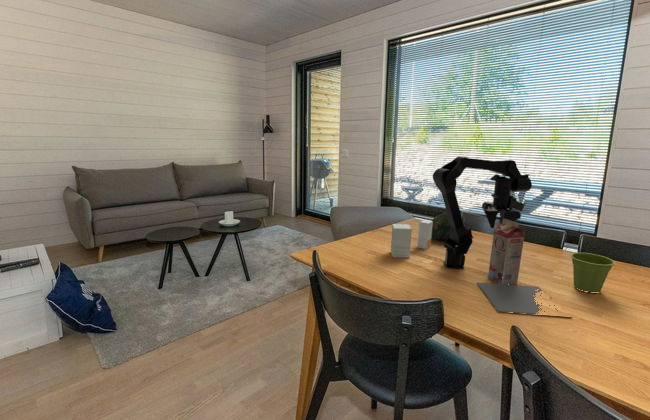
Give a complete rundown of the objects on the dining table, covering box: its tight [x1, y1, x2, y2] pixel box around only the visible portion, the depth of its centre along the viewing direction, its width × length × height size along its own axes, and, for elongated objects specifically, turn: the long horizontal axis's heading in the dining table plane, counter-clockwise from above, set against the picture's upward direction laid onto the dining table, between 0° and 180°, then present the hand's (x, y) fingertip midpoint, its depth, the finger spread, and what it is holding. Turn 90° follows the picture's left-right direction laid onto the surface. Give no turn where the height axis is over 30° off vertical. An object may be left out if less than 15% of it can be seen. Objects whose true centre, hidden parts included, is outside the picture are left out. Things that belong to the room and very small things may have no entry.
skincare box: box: [416, 219, 433, 250], centre depth 157 cm, size 6×4×12 cm
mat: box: [476, 282, 558, 314], centre depth 109 cm, size 20×20×1 cm
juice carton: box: [487, 218, 526, 285], centre depth 121 cm, size 7×7×22 cm
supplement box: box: [390, 223, 413, 259], centre depth 146 cm, size 7×7×13 cm
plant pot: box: [570, 252, 616, 293], centre depth 116 cm, size 12×12×11 cm
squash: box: [431, 211, 451, 241], centre depth 170 cm, size 14×15×15 cm
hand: (497, 231), depth 137 cm, fingers open, 9 cm apart
